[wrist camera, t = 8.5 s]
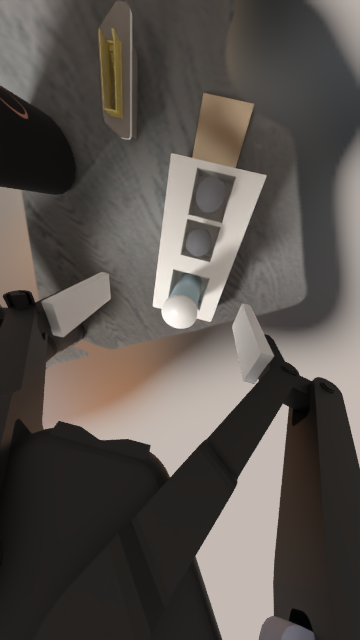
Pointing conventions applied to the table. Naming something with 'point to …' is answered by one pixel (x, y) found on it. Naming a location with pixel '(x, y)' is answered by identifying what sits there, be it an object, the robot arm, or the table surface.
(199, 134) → the coaster
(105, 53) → the platform
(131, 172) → the table surface
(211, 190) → the button
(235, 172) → the housing
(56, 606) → the robot arm
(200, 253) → the button
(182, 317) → the cartridge
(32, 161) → the coffee jar
